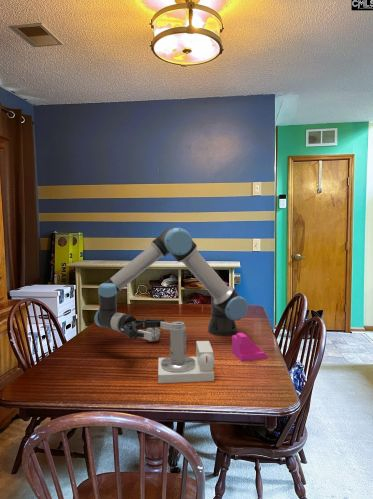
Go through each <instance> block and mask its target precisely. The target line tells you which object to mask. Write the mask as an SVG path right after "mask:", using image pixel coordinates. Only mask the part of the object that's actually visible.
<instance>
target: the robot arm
mask: <svg viewBox="0 0 373 499" xmlns="http://www.w3.org/2000/svg"><path fill="white" fill-rule="evenodd" d="M197 248H198V245H197V244H196V243H195V241H194V240H193V238H192V236H191V233H189V232H188V231H187V230H186V229H184V228H183V227H182V228H181V227H169V228H166V229H165V230H163V231H162V232H160V234H159V235H158V236H156V237H155V239H153V240H152V241H151V242H150V245H149V246H148V247H146V248H145V250H143V251H142V252H141V253H139V254H138V255H137V256H136V257H134V258H133V259H132V260H131V261H129V263H127V264H126V265H125V266H123V267H122V268H121V269H120V270H119V271H117V272H116V273H115V274H114V275H112V276H111V277H110V278H109V279H107V280H106V281H105V282H103V283H101V284H99V286H98V289H97V294H98V305H99V308H98V310H97V311H96V312H95V315H94V318H93V321H94V323H95V325H97V326H98V327H100V328H104V329H109V330H113V331H116V332H119V333H123V334H124V336H126V337H128V338H129V339H133V340H137V339H138V338H140V339H143V340H147V341H148V340H152V333H150V332H146V330H147V328H157V327H158V328H160V329H162V330H165V331H166V330H167V331H170V326H171V323H172V322H171V323H169V322H166V321H165V320H164V319H163V318H162V319H153V318H141V320H140V319H136V317H135V316H134V315H132V314H126V313H122V312H117V311H118V310H117V308H118V307H117V306H118V305H117V301H118V300H117V294H118V293H119V292H121V291H122V290H123V289H124V288H125V287H127V286H128V285H129V284H130V283H131V282H132V281H134V280H135V279H136V278H137V277H139V276H140V274H142V273H143V272H144V271H146V270H147V269H149V267H151V266H152V265H153V264H154V263H156V262H157V261H159V259H160V258H165V257H166V256H168V255H169V254H170V255H171V256H172V257H173V259H175V261H177V263H183V265H184V266H185V267H186V268H187V269H188V271H189V272H190V273H191V274H192V275H193V276H194V277H195V279H196V280H197V281H198V282H199V283H200V284H201V285H202V286H203V287H204V288H205V289H206V291H207V292H208V293H209V294H210V298H211V300H210V302H211V304H210V306H211V307H210V308H211V310H210V312H211V314H210V319H209V322H208V326H207V331H208V333H210V334H212V335H216V336H232V335H236V334H237V333H238V326H237V322H236V321H240V320H242V319H244V317H245V316H246V315H247V313H248V311H249V310H248V309H249V304H248V301H247V300H246V298H245V297H243V296H241V295H240V294H239V293H238V291H237V290H236V289H235V288H234V287H233V286H228V285H227V284H226V282H225V281H224V280H223V279H222V278H221V277H220V276H219V274H218V273H217V272H216V271H215V270H214V268H212V266H211V265H210V263H208V261H207V260H205V258H204V257H203V256H202V255H201V253H200V252H199V251H198V249H197Z"/></svg>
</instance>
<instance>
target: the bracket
mask: <svg viewBox="0 0 373 499" xmlns="http://www.w3.org/2000/svg"><path fill="white" fill-rule="evenodd" d="M231 353H232V354H233V355H234V356H235V357H236V358H237V359H238V360H240V362H246V361H254V360H257V361H258V360H264V359H269V356H268V355H267V354H266V353H265V352H264V351H262V349H260V347H259V346H257V345H256V343H255V342H254V341H253V340H251V339H250V338H249V336H248V335H246V334H244V332H236V334H232V335H231Z"/></svg>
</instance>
